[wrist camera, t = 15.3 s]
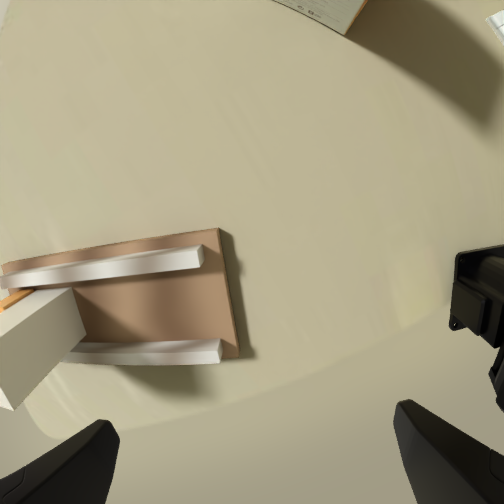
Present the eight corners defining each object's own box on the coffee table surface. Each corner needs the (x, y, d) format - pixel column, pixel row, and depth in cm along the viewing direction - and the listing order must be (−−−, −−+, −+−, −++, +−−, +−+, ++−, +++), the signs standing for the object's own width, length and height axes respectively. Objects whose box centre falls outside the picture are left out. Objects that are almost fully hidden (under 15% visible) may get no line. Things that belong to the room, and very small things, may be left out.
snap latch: (33, 288, 20) (2, 307, 16) (50, 337, 21) (23, 360, 17) (19, 290, 20) (-11, 307, 16) (35, 336, 21) (9, 358, 17)
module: (71, 286, 20) (-18, 350, 10) (86, 334, 21) (14, 410, 11) (37, 289, 20) (-47, 344, 11) (52, 333, 21) (-19, 399, 12)
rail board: (218, 227, 20) (211, 236, 17) (240, 349, 22) (237, 370, 19) (8, 262, 21) (-11, 270, 19) (38, 350, 23) (23, 364, 21)
